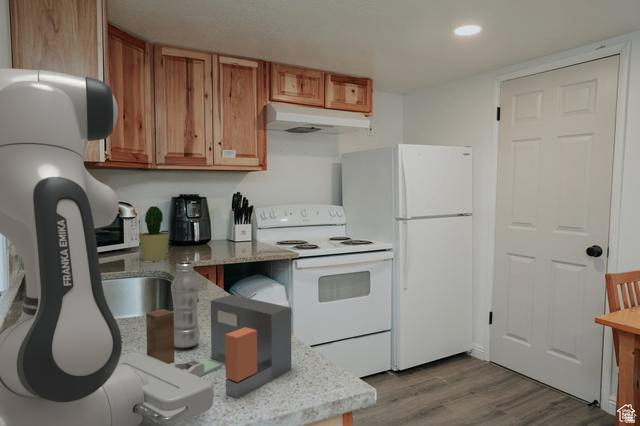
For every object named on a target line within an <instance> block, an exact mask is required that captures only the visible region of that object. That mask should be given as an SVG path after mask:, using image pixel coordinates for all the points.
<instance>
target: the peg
mask: <svg viewBox="0 0 640 426" xmlns="http://www.w3.org/2000/svg"><path fill="white" fill-rule="evenodd" d="M145 315H146V317H145V318H146V321H145V322H146V325H145V326H146V330H145V331H146V355H148V356H150V357H153V358H155V359H158V360H160V361H162V362H165V363H167V364H170V363H175V346H174V311H171V310H168V309H164V308H163V309H158V310H154V311H150V312H146V313H145Z"/></svg>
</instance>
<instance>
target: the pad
mask: <svg viewBox="0 0 640 426" xmlns="http://www.w3.org/2000/svg"><path fill="white" fill-rule="evenodd" d="M195 361H197V362H200V363H203V364H204V373H203V374H202V375H200V376H198V377H201V378H202V377H203V376H205V375H207V374H210V373H212V372H214V371H217V370H218V369H222V364H221V363H220V364H219V363H217V362H215V361H212V360H210V359H206V358H204V357H203V358H199V359H197V360H195Z"/></svg>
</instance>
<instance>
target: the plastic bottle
mask: <svg viewBox="0 0 640 426" xmlns="http://www.w3.org/2000/svg"><path fill="white" fill-rule="evenodd" d="M193 265H194V264H193V262H191V261H190V262H189V261H183V262H177V263H176V270H175V271H176V275H175V277H174V278H173V279H172V282H171V285H170V291H171V297H172V304H173V305H172V306H173V312H174V348H176V349H188V348H190V349H191V348H193V347H195V346H197V344H198V343H199V341H200V335H201V333H200V327H199V321H198V300H199V299H198V297H199V291H200V283H199V280H198V279H197V277H196V276H195V275H194V274H193V271H194V266H193Z"/></svg>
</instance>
